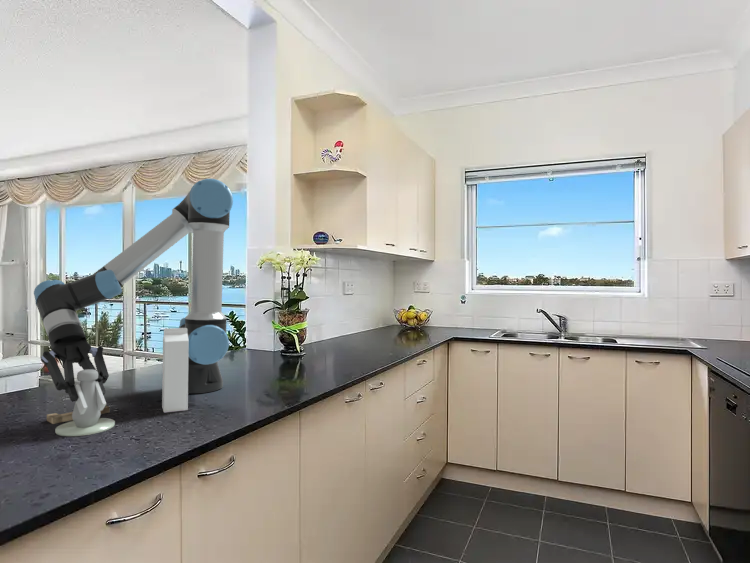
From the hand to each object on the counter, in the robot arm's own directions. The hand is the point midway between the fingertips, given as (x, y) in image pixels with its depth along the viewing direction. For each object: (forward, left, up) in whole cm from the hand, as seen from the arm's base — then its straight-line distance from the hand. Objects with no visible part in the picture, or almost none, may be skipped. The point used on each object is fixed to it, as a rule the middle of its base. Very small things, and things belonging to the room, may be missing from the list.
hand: (93, 408), depth 109 cm
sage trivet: (+3, -3, -5) cm, 6 cm away
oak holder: (+9, -13, -5) cm, 16 cm away
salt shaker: (+3, -3, -5) cm, 6 cm away
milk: (-13, -18, -5) cm, 23 cm away
